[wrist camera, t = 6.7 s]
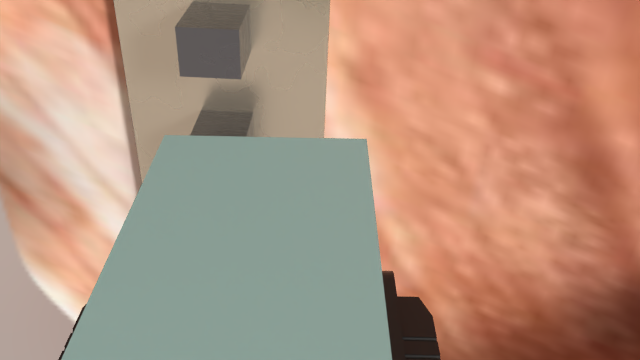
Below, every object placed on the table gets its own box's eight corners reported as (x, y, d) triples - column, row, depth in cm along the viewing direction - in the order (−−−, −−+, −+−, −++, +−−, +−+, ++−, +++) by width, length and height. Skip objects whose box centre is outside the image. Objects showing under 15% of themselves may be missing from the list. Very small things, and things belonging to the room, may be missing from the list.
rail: (52, -436, 18) (-6, -477, 15) (349, -425, 18) (349, -464, 15) (158, 260, 34) (139, 308, 31) (318, 269, 34) (315, 317, 31)
